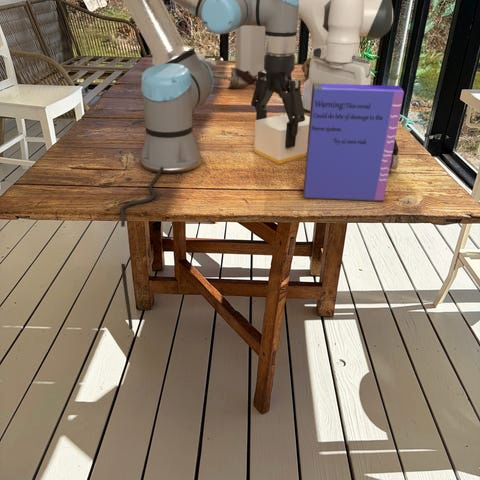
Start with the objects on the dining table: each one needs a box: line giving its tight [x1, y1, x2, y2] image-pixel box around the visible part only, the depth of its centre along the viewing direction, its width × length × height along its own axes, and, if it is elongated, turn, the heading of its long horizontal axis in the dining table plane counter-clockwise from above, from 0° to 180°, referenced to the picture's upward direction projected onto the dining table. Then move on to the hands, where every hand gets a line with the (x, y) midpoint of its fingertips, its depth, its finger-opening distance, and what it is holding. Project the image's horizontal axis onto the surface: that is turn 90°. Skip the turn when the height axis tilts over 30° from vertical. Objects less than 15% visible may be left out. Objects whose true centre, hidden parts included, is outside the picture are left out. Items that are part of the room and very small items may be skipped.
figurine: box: [213, 66, 258, 89], centre depth 190 cm, size 24×8×30 cm
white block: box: [234, 25, 267, 77], centre depth 210 cm, size 19×15×28 cm
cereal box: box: [302, 84, 405, 202], centre depth 102 cm, size 17×5×24 cm, turn 86°
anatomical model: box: [301, 56, 312, 81], centre depth 205 cm, size 13×9×15 cm
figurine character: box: [388, 138, 399, 176], centre depth 121 cm, size 7×8×15 cm
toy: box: [151, 50, 218, 67], centre depth 224 cm, size 24×25×7 cm
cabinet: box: [253, 113, 310, 165], centre depth 129 cm, size 14×10×9 cm
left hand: (275, 140), depth 127 cm, fingers open, 11 cm apart
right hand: (335, 105), depth 135 cm, fingers closed
